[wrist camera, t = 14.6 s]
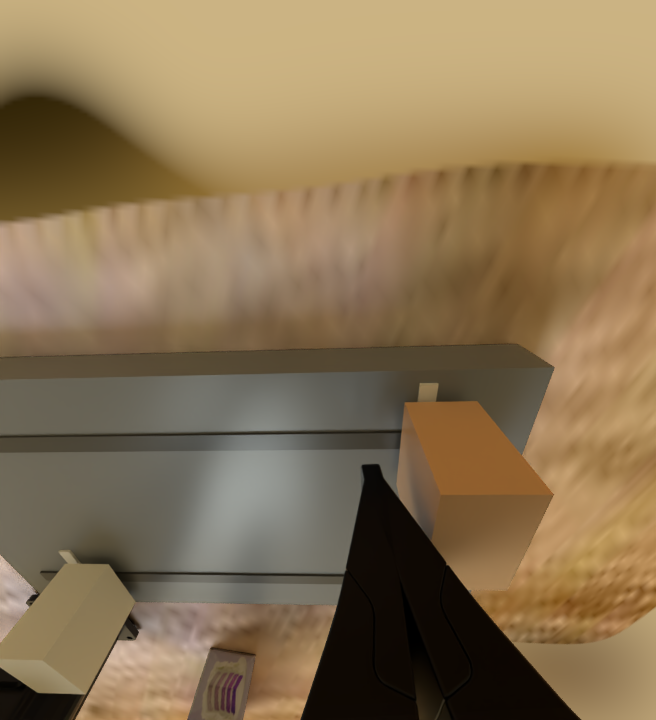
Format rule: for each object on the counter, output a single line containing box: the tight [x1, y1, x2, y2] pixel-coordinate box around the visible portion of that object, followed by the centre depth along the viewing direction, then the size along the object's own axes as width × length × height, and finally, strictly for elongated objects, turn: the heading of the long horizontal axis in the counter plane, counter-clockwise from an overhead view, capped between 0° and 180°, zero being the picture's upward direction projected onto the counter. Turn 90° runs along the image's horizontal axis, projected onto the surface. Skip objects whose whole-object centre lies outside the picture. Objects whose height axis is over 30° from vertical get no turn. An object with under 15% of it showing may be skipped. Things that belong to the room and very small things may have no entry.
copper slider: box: [396, 401, 554, 591], centre depth 8 cm, size 4×2×4 cm, turn 2°
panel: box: [0, 344, 555, 605], centre depth 14 cm, size 16×26×2 cm, turn 92°
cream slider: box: [0, 564, 135, 694], centre depth 13 cm, size 4×2×4 cm, turn 2°
